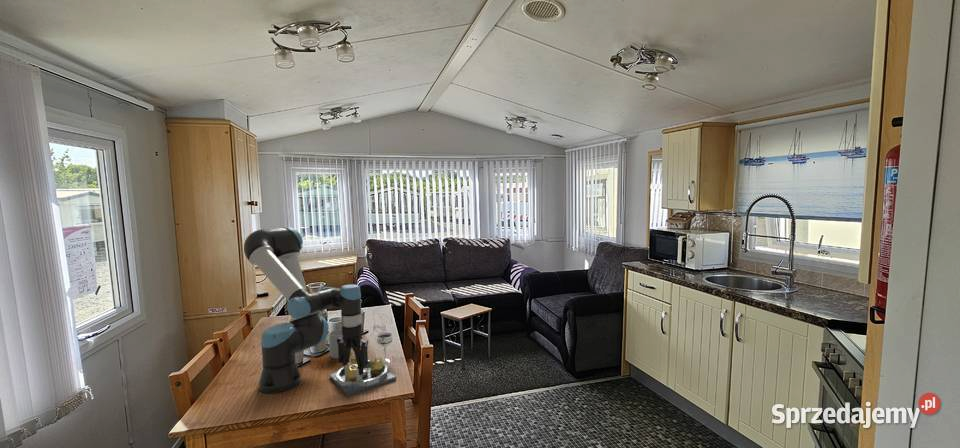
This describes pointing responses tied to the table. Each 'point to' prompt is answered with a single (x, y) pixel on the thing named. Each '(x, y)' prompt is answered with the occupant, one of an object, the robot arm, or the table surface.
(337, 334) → the mug
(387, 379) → the carrier
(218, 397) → the table surface
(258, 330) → the table surface
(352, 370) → the yellow hollow cylinder
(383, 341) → the wineglass
